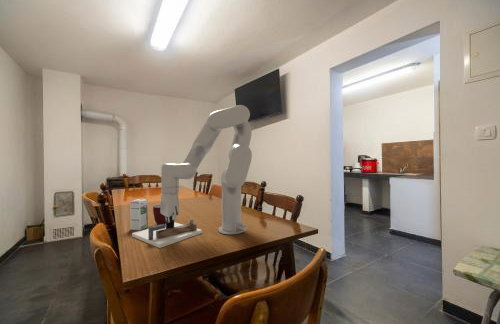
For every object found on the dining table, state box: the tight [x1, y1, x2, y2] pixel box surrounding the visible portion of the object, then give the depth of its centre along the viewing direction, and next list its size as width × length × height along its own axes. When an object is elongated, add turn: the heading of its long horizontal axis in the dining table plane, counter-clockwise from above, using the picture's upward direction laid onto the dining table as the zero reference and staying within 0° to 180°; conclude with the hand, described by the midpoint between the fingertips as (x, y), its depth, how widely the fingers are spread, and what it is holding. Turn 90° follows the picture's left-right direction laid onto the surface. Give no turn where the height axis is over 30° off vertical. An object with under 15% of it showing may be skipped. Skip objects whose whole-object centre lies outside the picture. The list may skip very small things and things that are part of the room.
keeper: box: [147, 224, 166, 240], centre depth 94 cm, size 7×2×5 cm, turn 132°
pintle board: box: [131, 221, 203, 249], centre depth 102 cm, size 22×22×2 cm
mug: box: [152, 204, 166, 225], centre depth 119 cm, size 11×8×10 cm
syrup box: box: [129, 198, 149, 231], centre depth 112 cm, size 6×6×14 cm
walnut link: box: [156, 218, 198, 238], centre depth 100 cm, size 18×5×5 cm, turn 134°
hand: (170, 230), depth 101 cm, fingers closed
